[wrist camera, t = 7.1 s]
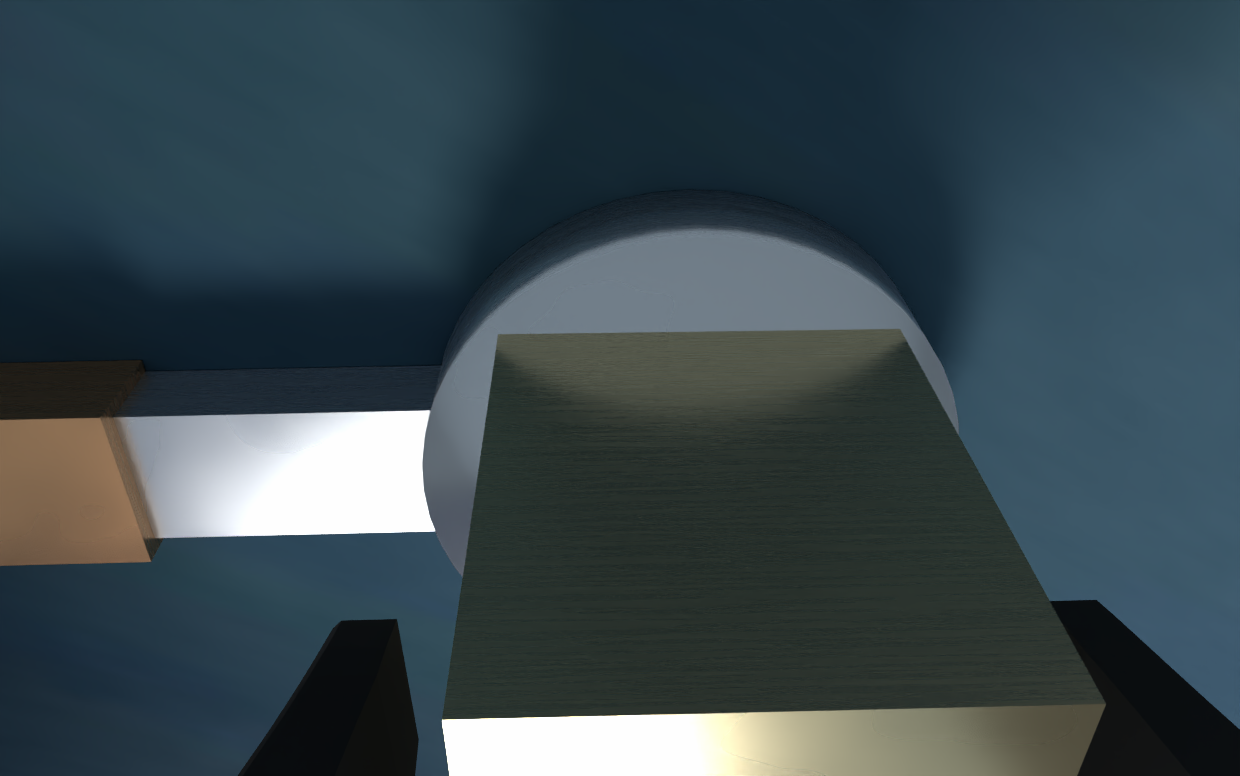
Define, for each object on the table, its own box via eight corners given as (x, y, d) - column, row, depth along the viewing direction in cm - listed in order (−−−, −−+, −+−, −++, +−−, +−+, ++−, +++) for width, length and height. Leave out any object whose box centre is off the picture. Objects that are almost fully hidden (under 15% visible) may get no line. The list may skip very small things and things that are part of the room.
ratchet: (967, 184, 13) (1123, 360, 10) (888, 591, 18) (974, 827, 14) (-368, 207, 13) (-770, 399, 9) (-129, 618, 17) (-335, 870, 13)
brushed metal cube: (848, 615, 16) (975, 1026, 11) (519, 622, 15) (488, 1043, 10) (899, 328, 13) (1105, 704, 8) (497, 334, 13) (441, 721, 8)
